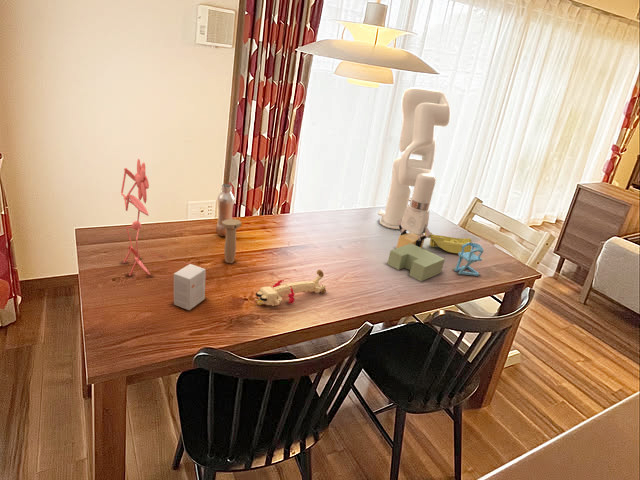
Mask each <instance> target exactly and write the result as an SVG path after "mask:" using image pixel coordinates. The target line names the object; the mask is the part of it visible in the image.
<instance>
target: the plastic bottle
mask: <svg viewBox="0 0 640 480" xmlns="http://www.w3.org/2000/svg"><path fill="white" fill-rule="evenodd" d="M220 190H221V192H220V193H219V194H218V196H217V199H216V200H217V212H218V213H217V222H216V227H215V230H216V233H217V235H218V236H220V237H226V228H224V227H223V226H222V221H224V220H228V219H233V212H234V207H235V196H234V193H232V192H233V186H232V185H231V184H228V183H223V184H221V189H220Z"/></svg>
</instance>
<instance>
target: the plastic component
mask: <svg viewBox="0 0 640 480" xmlns="http://www.w3.org/2000/svg"><path fill="white" fill-rule="evenodd" d="M430 233H431V236H429V237H427V238H428V239H430V240H429V247H432V248H440V249H441V250H444V252H448V253H450V254H456V255H457V254H458V253H460V252H461V251H462V245H464V244H466V243H472V238H471V237H466V238H465V237H464V238H463V237H461V238H459V237H453V236H452V237H451V236H444V235H438V234H433V233H432V232H430ZM424 235H426V233H424ZM427 238H426V239H427ZM471 249H472V246H470V245H468V246H466V247H464V252H463V253H465V252H470V251H471Z"/></svg>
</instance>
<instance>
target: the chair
mask: <svg viewBox="0 0 640 480" xmlns="http://www.w3.org/2000/svg"><path fill="white" fill-rule="evenodd" d="M468 245H470V246H471V251H470V252H465V253H463V252H464V247H466V246H468ZM475 253H478V255H476V254H475ZM483 253H484V248H483V246H482V245H481V244H479V243H475V242H471V243H466V244H464V245H462V251H461V252H460V253H458V260H457V263H456V266H455V268H454V272H458V273H457V274H458V275H464V276H465V275H466V276H474V277H479V276H480V272H478V271H477V270H475V269H474V268H472V267H471V266H470V265H472V264H475V263H476V262H482V261H483V259H482V258H481V256H482V254H483ZM463 259H464V260H465V261H466V262H467V263H466V264H465V265H462V266H461V263H462V260H463ZM467 269H468V270H469V271H465V270H467Z"/></svg>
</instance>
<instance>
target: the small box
mask: <svg viewBox="0 0 640 480" xmlns="http://www.w3.org/2000/svg"><path fill="white" fill-rule="evenodd" d="M206 271H207V270H206V268H203V267H200V266H198V265H195V264H191V263H189V264H187V265H186V266H184V267H182V268H180V269H179V270H178V271H176V272H174V273H173V305H174V306H177V307H179V308H181V309H184V310H187V311H191V310H192V309H193V308H195V307H196V306H197V305H199V304H200V303H201V302H203V301H204V300H205V299H206V273H207V272H206Z"/></svg>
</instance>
